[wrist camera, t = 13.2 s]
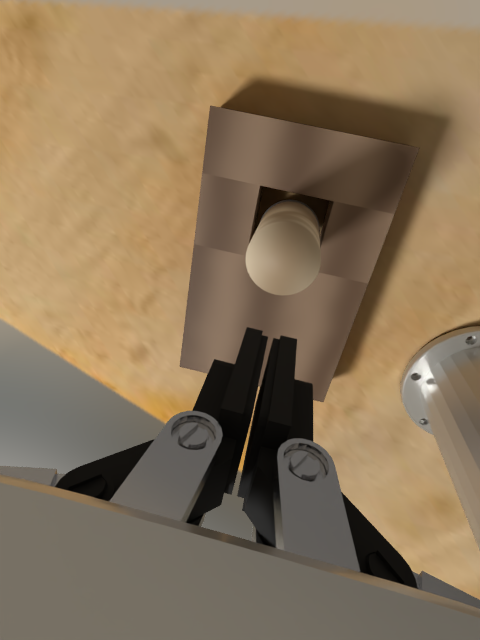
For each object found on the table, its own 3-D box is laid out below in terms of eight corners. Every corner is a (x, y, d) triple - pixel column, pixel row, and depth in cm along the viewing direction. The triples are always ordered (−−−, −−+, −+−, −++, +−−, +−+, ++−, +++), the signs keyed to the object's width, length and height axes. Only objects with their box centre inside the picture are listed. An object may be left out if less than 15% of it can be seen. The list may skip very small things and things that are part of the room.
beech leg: (325, 199, 29) (331, 232, 20) (310, 253, 31) (310, 303, 23) (269, 187, 29) (252, 214, 21) (258, 241, 32) (238, 286, 23)
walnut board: (408, 145, 26) (419, 147, 24) (322, 382, 37) (323, 402, 35) (219, 107, 27) (210, 105, 25) (188, 349, 38) (179, 366, 35)
